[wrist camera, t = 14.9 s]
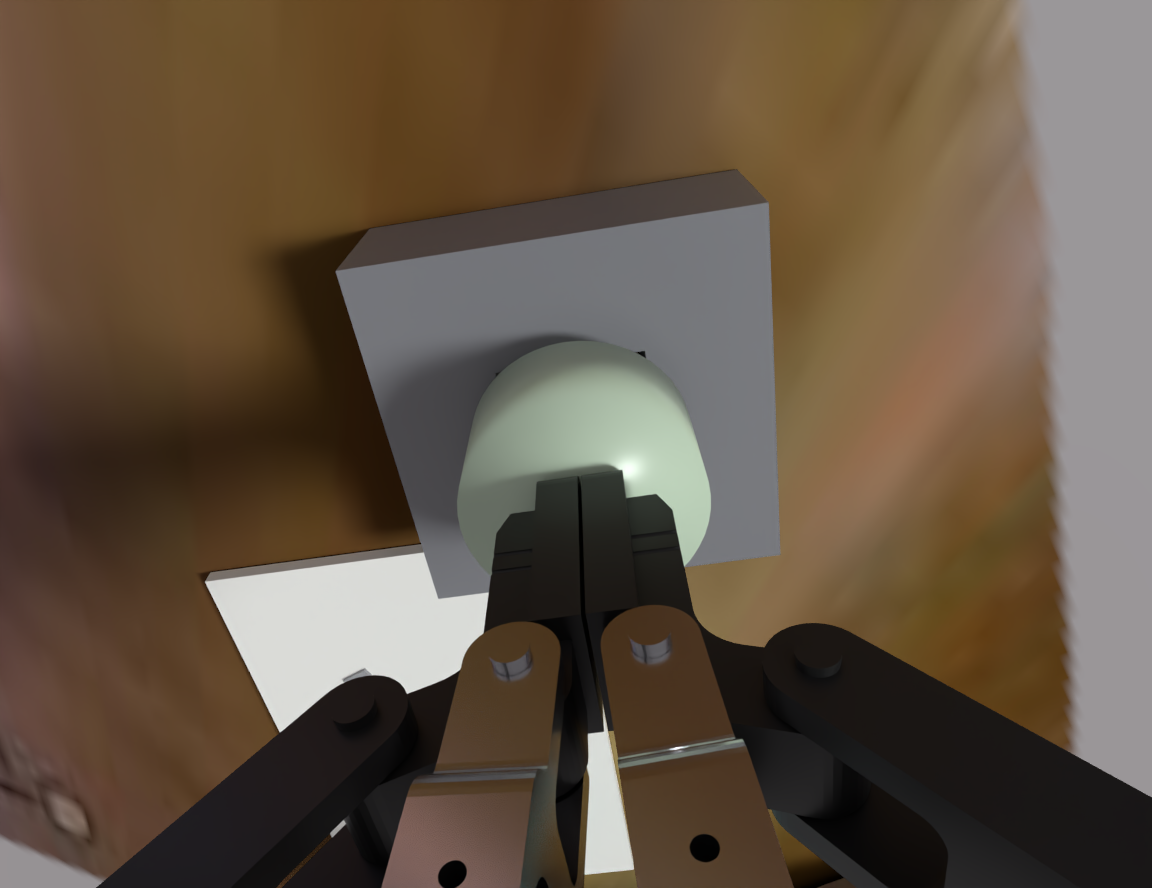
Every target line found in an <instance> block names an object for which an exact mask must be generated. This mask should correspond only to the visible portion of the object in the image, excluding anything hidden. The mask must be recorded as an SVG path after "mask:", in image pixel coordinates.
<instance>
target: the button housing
mask: <svg viewBox="0 0 1152 888" xmlns="http://www.w3.org/2000/svg"><path fill="white" fill-rule="evenodd" d="M336 275H337V278H338V281H339V284H340V287H341V290H342V294H343V297H344V300H345V303H346V306H347V310H348V313H349V316H350V319H351V322H352V326H353V329H354V332H355V335H356V338H357V341H358V345H359V348H360V351H361V354H362V357H363V361H364V364H365V367H366V370H367V373H368V377H369V380H370V383H371V386H372V389H373V392H374V396H375V399H376V402H377V405H378V408H379V412H380V415H381V418H382V421H383V424H384V427H385V431H386V434H387V437H388V440H389V443H390V447H391V450H392V453H393V456H394V459H395V463H396V466H397V469H398V472H399V475H400V478H401V482H402V485H403V488H404V491H405V494H406V498H407V501H408V504H409V507H410V510H411V514H412V517H413V520H414V523H415V526H416V529H417V533H418V536H419V539H420V542H421V545H422V549H423V552H424V555H425V558H426V561H427V564H428V568H429V571H430V574H431V577H432V580H433V584H434V587H435V590H436V593H437V596H438V599H442V598H450V597H458V596H465V595H473V594H481V593H489V586H490V579H491V576H490V575H489V574H488V573H487V572H486V571H485V570H484V569H483V568H482V567H481V566H480V565H479V563H478V562H477V560H476V559H475V558H474V556H473V555H472V554H471V552H470V550H469V548H468V546H467V544H466V543H465V540H464V538H463V535H462V532H461V529H460V525H459V520H458V513H457V498H458V490H459V484H460V479H461V475H462V470H463V465H464V460H465V456H466V451H467V446H468V441H469V437H470V432H471V427H472V423H473V419H474V415H475V412H476V408H477V406H478V404H479V402H480V399H481V397H482V395H483V394H484V392H485V391H486V389H487V388H488V386H489V385H490V383H491V382H492V381H493V380H494V379H495V378H496V376H497V375H498V374H499V373H500V372H502V371H503V370H504V369H505V368H506V367H507V366H508V365H510V364H511V363H513V362H514V361H516V360H517V359H519V358H520V357H522V356H524V355H526V354H528V353H530V352H532V351H534V350H537V349H540V348H542V347H545V346H548V345H552V344H557V343H562V342H570V341H596V342H603V343H609V344H613V345H616V346H620V347H623V348H626V349H628V350H631V351H633V352H640V355H641V356H643V357H644V358H646V359H648V360H649V361H651V362H652V363H653V364H655V365H656V366H657V367H659V368H660V369H661V370H662V371H663V372H664V373H665V374H666V375H667V376H668V377H669V378H670V379H671V380H672V382H673V383H674V385H675V386H676V387H677V389H678V390H679V392H680V394H681V396H682V398H683V400H684V402H685V404H686V407H687V410H688V413H689V416H690V419H691V423H692V426H693V430H694V433H695V436H696V440H697V443H698V447H699V450H700V454H701V457H702V460H703V464H704V467H705V471H706V474H707V477H708V481H709V487H710V493H711V511H710V518H709V523H708V526H707V530H706V533H705V536H704V538H703V540H702V542H701V544H700V546H699V548H698V549H697V551H696V552H695V554H694V555H693V557H692V558H691V560H690V561H689V562H688V563H687V564H686V565H685V567H689V566H697V565H705V564H713V563H720V562H728V561H736V560H744V559H751V558H759V557H767V556H774V555H780V531H779V501H778V471H777V441H776V411H775V380H774V350H773V320H772V290H771V260H770V230H769V202H768V201H767V200H766V199H765V198H764V197H763V196H762V195H761V194H760V193H759V192H758V191H757V190H756V189H755V188H754V187H753V186H752V185H751V184H750V183H749V181H748V180H747V179H746V178H745V177H744V176H743V175H742V174H741V173H740V172H739V171H738V170H737V169H736V170H730V171H724V172H718V173H711V174H705V175H699V176H693V177H687V178H680V179H674V180H668V181H662V182H656V183H649V184H643V185H637V186H631V187H625V188H618V189H612V190H606V191H600V192H594V193H587V194H581V195H575V196H569V197H563V198H556V199H550V200H544V201H538V202H532V203H526V204H519V205H513V206H507V207H501V208H495V209H488V210H482V211H476V212H470V213H464V214H457V215H451V216H445V217H439V218H433V219H426V220H420V221H414V222H408V223H402V224H395V225H389V226H383V227H377V228H371V229H369V230H368V231H367V233H366V234H365V235H364V236H363V238H362V239H361V240H360V241H359V243H358V244H357V245H356V246H355V247H354V249H353V250H352V251H351V252H350V254H349V255H348V256H347V257H346V259H345V260H344V261H343V262H342V264H341V265H340V266H339V267H338V268H337V270H336Z"/></svg>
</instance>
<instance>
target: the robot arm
mask: <svg viewBox="0 0 1152 888" xmlns="http://www.w3.org/2000/svg"><path fill="white" fill-rule="evenodd" d="M581 489H582V490H581ZM602 701H603V702H602ZM603 706H604V711H605V716H606V721H607V726H608V731H614V735H615V741H616V747H617V753H618V766H619V773H620V779H621V786H622V792H623V799H624V805H625V811H626V818H627V824H628V830H629V837H630V843H631V849H632V856H633V862H634V868H635V875H636V881H637V887H638V888H794V887H793V884H792V881H791V878H790V875H789V872H788V869H787V866H786V863H785V860H784V857H783V854H782V851H781V848H780V845H779V842H778V839H777V836H776V833H775V830H774V827H773V824H772V821H771V818H770V815H769V812H768V809H771V810H772V812H773V814H774V816H775V818H776V819H777V821H778V822H779V823H780V825H781V826H782V827H783V828H784V829H785V830H786V831H787V832H789V833H790V834H791V835H792V836H793V837H795V838H796V839H797V840H798V841H800V842H801V843H802V844H803V845H805V846H806V847H807V848H808V849H809V850H811V851H812V852H813V853H814V854H816V855H817V856H818V857H819V858H821V859H822V860H823V861H824V862H826V863H827V864H828V865H829V866H830V867H832V868H833V869H834V870H835V871H837V872H838V873H839V874H840V875H842V876H843V877H844V878H845V879H846V880H848V881H849V882H850V883H851V884H853V885H854V886H855V887H856V888H1152V797H1150V796H1148V795H1146V794H1144V793H1143V792H1141V791H1139V790H1137V789H1135V788H1133V787H1132V786H1130V785H1128V784H1126V783H1124V782H1123V781H1121V780H1119V779H1117V778H1115V777H1113V776H1112V775H1110V774H1108V773H1106V772H1104V771H1102V770H1101V769H1099V768H1097V767H1095V766H1093V765H1091V764H1090V763H1088V762H1086V761H1084V760H1082V759H1081V758H1079V757H1077V756H1075V755H1073V754H1071V753H1070V752H1068V751H1066V750H1064V749H1062V748H1060V747H1059V746H1057V745H1055V744H1053V743H1051V742H1050V741H1048V740H1046V739H1044V738H1042V737H1040V736H1039V735H1037V734H1035V733H1033V732H1031V731H1029V730H1028V729H1026V728H1024V727H1022V726H1020V725H1019V724H1017V723H1015V722H1013V721H1011V720H1009V719H1008V718H1006V717H1004V716H1002V715H1000V714H998V713H997V712H995V711H993V710H991V709H989V708H988V707H986V706H984V705H982V704H980V703H978V702H977V701H975V700H973V699H971V698H969V697H967V696H966V695H964V694H962V693H960V692H958V691H956V690H955V689H953V688H951V687H949V686H947V685H946V684H944V683H942V682H940V681H938V680H936V679H935V678H933V677H931V676H929V675H927V674H925V673H924V672H922V671H920V670H918V669H916V668H915V667H913V666H911V665H909V664H907V663H905V662H904V661H902V660H900V659H898V658H896V657H894V656H893V655H891V654H889V653H887V652H885V651H884V650H882V649H880V648H878V647H876V646H874V645H873V644H871V643H869V642H867V641H865V640H863V639H862V638H860V637H858V636H856V635H854V634H852V633H851V632H849V631H846V630H844V629H842V628H839V627H836V626H832V625H827V624H819V623H806V624H799V625H795V626H791V627H788V628H786V629H784V630H782V631H780V632H778V633H777V634H775V635H774V636H773V637H772V638H771V639H770V640H769V641H768V643H767V644H766V646H765V648H764V647H756V646H748V645H742V644H736V643H732V642H729V641H726V640H723V639H721V638H719V637H716V636H715V635H713V634H712V633H710V632H709V631H707V630H706V629H705V628H704V627H703V626H702V625H701V624H700V623H699V621H698V620H697V618H696V616H695V614H694V611H693V607H692V602H691V597H690V593H689V588H688V583H687V578H686V573H685V568H684V563H683V559H682V554H681V550H680V544H679V539H678V534H677V530H676V525H675V520H674V515H673V510H672V509H671V508H670V507H669V506H668V505H667V504H666V503H665V502H664V501H663V500H662V499H661V498H660V497H659V496H658V495H657V494H652V495H644V496H637V497H629V498H627V497H626V490H625V483H624V477H623V471H622V470H616V471H608V472H601V473H594V474H587V475H581V484H580V480H579V477H578V476H573V477H566V478H559V479H551V480H544V481H537V484H536V499H535V510H534V511H527V512H520V513H512V514H510V515H509V517H508V518H507V519H506V521H505V522H504V523H503V525H502V526H501V528H500V529H499V530H498V532H497V533H496V540H495V547H494V558H493V563H492V575H491V579H490V586H489V594H488V602H487V610H486V617H485V625H484V633H483V634H482V635H481V636H479V637H478V638H477V639H476V640H475V641H474V642H473V643H472V644H471V645H470V646H469V648H468V649H467V651H466V653H465V655H464V658H463V661H462V665H461V669H460V670H459V671H458V672H456V673H455V674H453V675H451V676H450V677H448V678H446V679H444V680H442V681H439V682H437V683H434V684H432V685H429V686H427V687H424V688H421V689H419V690H416V691H414V692H411V693H408V694H407V693H406V691H405V689H404V687H403V686H402V685H401V684H400V683H399V682H398V681H396V680H394V679H392V678H390V677H386V676H380V675H370V676H363V677H358V678H355V679H352V680H349V681H347V682H345V683H342V684H340V685H339V686H337V687H335V688H334V689H332V690H331V691H329V692H328V693H327V694H325V695H324V696H323V697H322V698H321V699H319V700H318V701H317V702H316V703H315V704H313V705H312V706H311V707H310V708H309V709H308V710H306V711H305V712H304V713H303V714H302V715H300V716H299V717H298V718H297V719H296V720H294V721H293V722H292V723H291V724H290V725H289V726H287V727H286V728H285V729H284V730H283V731H281V732H280V733H279V734H278V735H277V736H276V737H274V738H273V739H272V740H271V741H270V742H268V743H267V744H266V745H265V746H264V747H262V748H261V749H260V750H259V751H258V752H257V753H255V754H254V755H253V756H252V757H251V758H249V759H248V760H247V761H246V762H245V763H243V764H242V765H241V766H240V767H239V768H238V769H236V770H235V771H234V772H233V773H232V774H230V775H229V776H228V777H227V778H226V779H225V780H223V781H222V782H221V783H220V784H219V785H217V786H216V787H215V788H214V789H213V790H211V791H210V792H209V793H208V794H207V795H206V796H204V797H203V798H202V799H201V800H200V801H198V802H197V803H196V804H195V805H194V806H193V807H191V808H190V809H189V810H188V811H187V812H185V813H184V814H183V815H182V816H181V817H179V818H178V819H177V820H176V821H175V822H174V823H172V824H171V825H170V826H169V827H168V828H166V829H165V830H164V831H163V832H162V833H161V834H159V835H158V836H157V837H156V838H155V839H153V840H152V841H151V842H150V843H149V844H147V845H146V846H145V847H144V848H143V849H142V850H140V851H139V852H138V853H137V854H136V855H134V856H133V857H132V858H131V859H130V860H129V861H127V862H126V863H125V864H124V865H123V866H121V867H120V868H119V869H118V870H117V871H115V872H114V873H113V874H112V875H111V876H110V877H108V878H107V879H106V880H105V881H104V882H102V883H101V884H100V885H99V886H98V887H96V888H276V887H277V886H278V885H279V884H280V883H281V881H282V880H283V879H284V878H285V877H286V876H287V875H288V874H289V873H290V872H291V871H292V870H293V869H294V868H295V867H296V866H297V865H298V864H299V863H300V862H301V861H302V860H303V859H305V858H306V857H307V856H308V855H309V854H310V853H311V852H312V851H313V850H314V849H315V848H316V847H317V846H318V845H319V844H320V843H321V842H322V841H323V840H324V839H325V838H326V837H327V836H328V835H329V834H330V833H331V832H332V831H333V830H334V829H335V828H336V827H337V826H338V825H339V824H340V823H341V822H342V821H343V820H344V821H345V823H346V824H345V825H344V826H343V827H342V828H341V829H340V830H339V831H338V832H337V833H336V834H335V835H334V836H333V837H332V838H331V839H330V840H329V841H328V842H327V843H326V844H325V845H324V846H323V847H322V848H321V849H320V850H319V851H318V852H317V853H316V854H315V855H314V856H313V857H312V858H311V859H310V860H309V861H308V862H307V863H306V864H305V865H304V866H303V867H302V868H301V869H300V870H299V871H298V872H297V873H296V874H295V875H294V876H293V877H292V878H291V879H290V880H289V881H288V882H287V883H286V884H285V885H284V886H283V887H282V888H584V875H585V856H586V838H587V820H588V802H589V784H590V783H589V774H588V769H587V765H588V757H589V754H588V734H590V733H599V732H604V721H603Z"/></svg>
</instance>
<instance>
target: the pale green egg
mask: <svg viewBox="0 0 1152 888" xmlns="http://www.w3.org/2000/svg"><path fill="white" fill-rule="evenodd" d="M616 470H622V471H623V477H624V483H625V490H626V497H627V498H629V497H637V496H644V495H652V494H657V495H658V496H659V497H660V498H661V499H662V500H663V501H664V502H665V503H666V504H667V505H668V506H669V507H670V508H671V509H672V510H673V515H674V520H675V525H676V530H677V534H678V539H679V544H680V550H681V554H682V559H683V563H684V567H685V565H686V564H687V563H688V562H689V561H690V560H691V558H692V557H693V555H694V554H695V552H696V551H697V549H698V548H699V546H700V544H701V542H702V540H703V538H704V536H705V533H706V530H707V526H708V523H709V518H710V511H711V493H710V487H709V481H708V477H707V474H706V471H705V467H704V464H703V460H702V457H701V454H700V450H699V447H698V443H697V440H696V436H695V433H694V430H693V426H692V423H691V419H690V416H689V413H688V410H687V407H686V404H685V402H684V400H683V398H682V396H681V394H680V392H679V390H678V389H677V387H676V386H675V385H674V383H673V382H672V380H671V379H670V378H669V377H668V376H667V375H666V374H665V373H664V372H663V371H662V370H661V369H660V368H659V367H657V366H656V365H655V364H653V363H652V362H651V361H649V360H648V359H646V358H644V357H643V356H641V355H639V354H637V353H635V352H633V351H631V350H628V349H626V348H623V347H620V346H616V345H613V344H609V343H603V342H596V341H570V342H562V343H557V344H552V345H548V346H545V347H542V348H540V349H537V350H534V351H532V352H530V353H528V354H526V355H524V356H522V357H520V358H519V359H517V360H516V361H514V362H513V363H511V364H510V365H508V366H507V367H506V368H505V369H504V370H503V371H502V372H500V373H499V374H498V375H497V376H496V378H495V379H494V380H493V381H492V382H491V383H490V385H489V386H488V388H487V389H486V391H485V392H484V394H483V395H482V397H481V399H480V402H479V404H478V406H477V408H476V412H475V415H474V419H473V423H472V427H471V432H470V437H469V441H468V446H467V451H466V456H465V460H464V465H463V470H462V475H461V479H460V484H459V490H458V498H457V513H458V520H459V525H460V529H461V532H462V535H463V538H464V540H465V543H466V544H467V546H468V548H469V550H470V552H471V554H472V555H473V556H474V558H475V559H476V560H477V562H478V563H479V565H480V566H481V567H482V568H483V569H484V570H485V571H486V572H487V573H488V574H489V575H490V576H491V575H492V563H493V558H494V547H495V540H496V533H497V532H498V530H499V529H500V528H501V526H502V525H503V523H504V522H505V521H506V519H507V518H508V517H509V515H510V514H512V513H520V512H527V511H534V510H535V499H536V484H537V481H544V480H551V479H559V478H566V477H573V476H578V477H579V480H580V484H581V475H587V474H594V473H601V472H608V471H616ZM581 490H582V489H581Z"/></svg>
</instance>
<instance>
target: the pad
mask: <svg viewBox="0 0 1152 888" xmlns="http://www.w3.org/2000/svg"><path fill="white" fill-rule="evenodd" d="M205 583H206V585H207V587H208V589H209V591H210V593H211V595H212V597H213V599H214V601H215V603H216V605H217V607H218V609H219V611H220V613H221V615H222V617H223V619H224V621H225V623H226V625H227V627H228V629H229V631H230V633H231V635H232V637H233V639H234V641H235V643H236V645H237V647H238V650H239V652H240V654H241V656H242V658H243V660H244V662H245V664H246V666H247V668H248V670H249V672H250V674H251V676H252V678H253V680H254V682H255V684H256V686H257V688H258V690H259V692H260V694H261V696H262V698H263V700H264V702H265V704H266V706H267V708H268V710H269V712H270V714H271V716H272V718H273V720H274V722H275V724H276V726H277V728H278V730H279V732H281V731H283V730H284V729H285V728H286V727H287V726H289V725H290V724H291V723H292V722H293V721H294V720H296V719H297V718H298V717H299V716H300V715H302V714H303V713H304V712H305V711H306V710H308V709H309V708H310V707H311V706H312V705H313V704H315V703H316V702H317V701H318V700H319V699H321V698H322V697H323V696H324V695H325V694H327V693H328V692H329V691H331V690H332V689H334V688H335V687H337V686H339V685H340V684H342V683H345V682H347V681H349V680H352V679H355V678H358V677H363V676H370V675H380V676H386V677H390V678H392V679H394V680H396V681H398V682H399V683H400V684H401V685H402V686H403V687H404V689H405V691H406V693H407V694H408V693H411V692H414V691H416V690H419V689H421V688H424V687H427V686H429V685H432V684H434V683H437V682H439V681H442V680H444V679H446V678H448V677H450V676H451V675H453V674H455V673H456V672H458V671H459V670H460V669H461V665H462V661H463V658H464V655H465V653H466V651H467V649H468V648H469V646H470V645H471V644H472V643H473V642H474V641H475V640H476V639H477V638H478V637H479V636H481V635H482V634H483V633H484V625H485V617H486V610H487V602H488V594H489V593H481V594H473V595H465V596H458V597H450V598H442V599H438V596H437V593H436V590H435V587H434V584H433V580H432V577H431V574H430V571H429V568H428V564H427V561H426V558H425V555H424V552H423V549H422V545H421V544H418V545H411V546H404V547H396V548H389V549H381V550H374V551H366V552H359V553H351V554H344V555H337V556H329V557H322V558H314V559H307V560H299V561H292V562H284V563H277V564H269V565H262V566H255V567H247V568H240V569H232V570H225V571H217V572H210V574H209V576H208V577H207V579H206V581H205ZM603 721H604V732H599V733H590V734H588V754H589V757H588V765H587V769H588V774H589V783H590V784H589V802H588V820H587V838H586V856H585V875H586V874H596V873H605V872H615V871H624V870H634V866H633V856H632V851H631V846H630V841H629V836H628V831H627V826H626V821H625V816H624V811H623V806H622V800H621V795H620V790H619V785H618V780H617V775H616V770H615V765H614V760H613V755H612V750H611V744H610V739H609V734H608V729H607V724H606V719H605V714H604V709H603ZM345 824H346V823H345V821H344V820H343V821H342V822H341V823H340V824H339V825H338V826H337V827H336V828H335V829H334V830H333V831H332V832H331V833H330V834H331V836H332V837H333V836H334V835H335V834H336V833H337V832H338V831H339V830H340V829H341V828H342V827H343V826H344V825H345Z"/></svg>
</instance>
